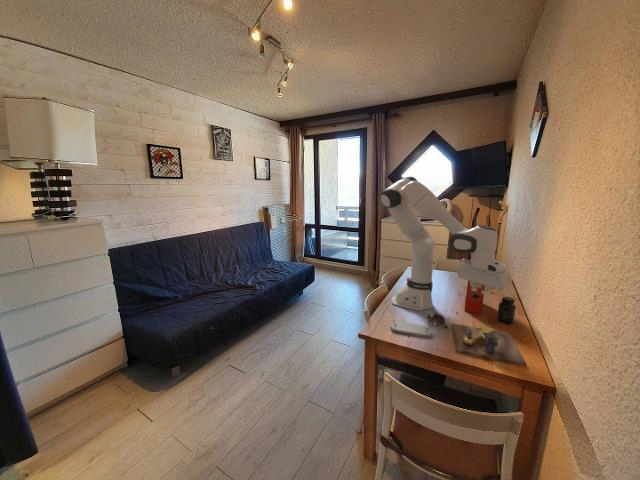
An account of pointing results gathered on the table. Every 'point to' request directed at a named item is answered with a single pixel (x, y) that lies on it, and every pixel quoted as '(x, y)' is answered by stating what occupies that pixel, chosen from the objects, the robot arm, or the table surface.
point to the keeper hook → (490, 342)
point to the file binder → (474, 298)
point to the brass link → (476, 336)
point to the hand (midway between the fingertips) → (478, 292)
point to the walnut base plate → (502, 352)
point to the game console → (411, 329)
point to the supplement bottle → (506, 311)
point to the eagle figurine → (437, 319)
